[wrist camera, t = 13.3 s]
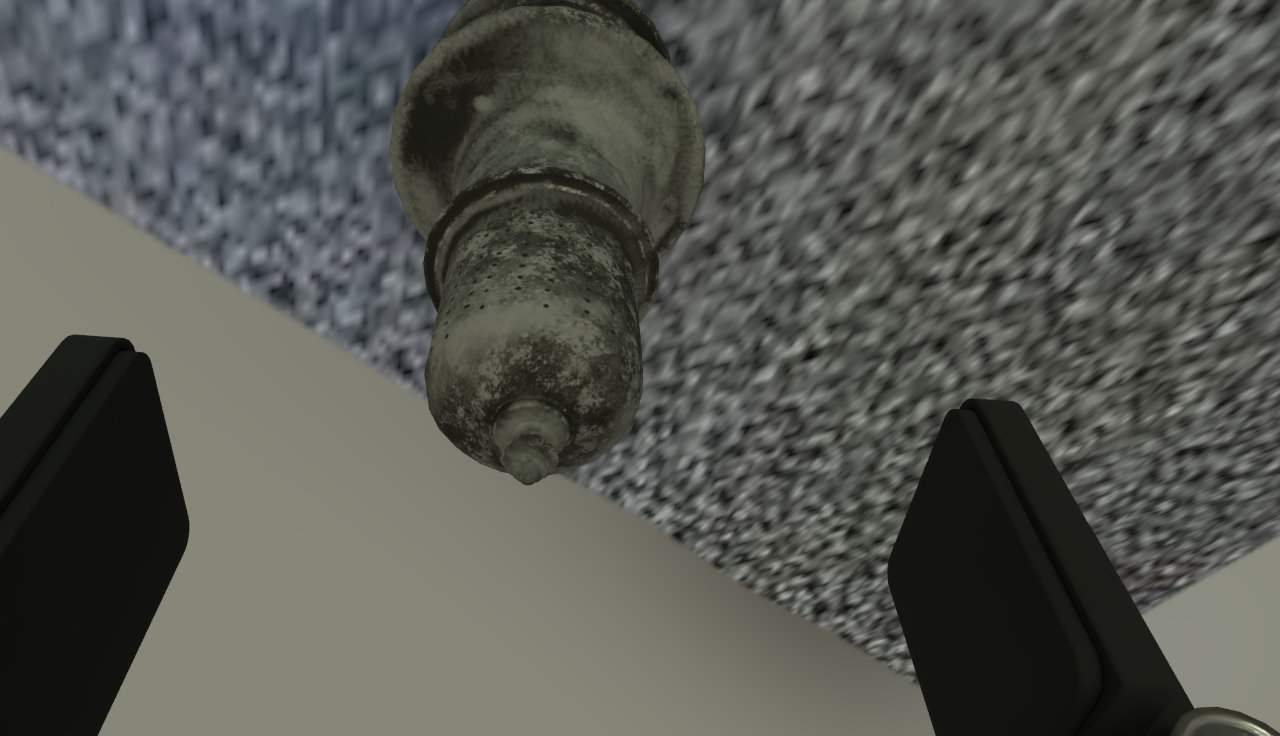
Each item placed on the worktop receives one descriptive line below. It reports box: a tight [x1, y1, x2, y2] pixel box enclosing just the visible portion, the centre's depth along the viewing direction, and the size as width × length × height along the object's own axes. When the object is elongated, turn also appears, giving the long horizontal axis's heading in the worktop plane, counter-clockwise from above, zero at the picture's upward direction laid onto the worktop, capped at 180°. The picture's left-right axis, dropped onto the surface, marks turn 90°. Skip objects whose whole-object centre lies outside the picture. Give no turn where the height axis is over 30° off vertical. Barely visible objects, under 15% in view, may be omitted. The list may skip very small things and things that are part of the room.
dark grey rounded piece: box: [390, 0, 706, 485], centre depth 16 cm, size 6×6×12 cm
